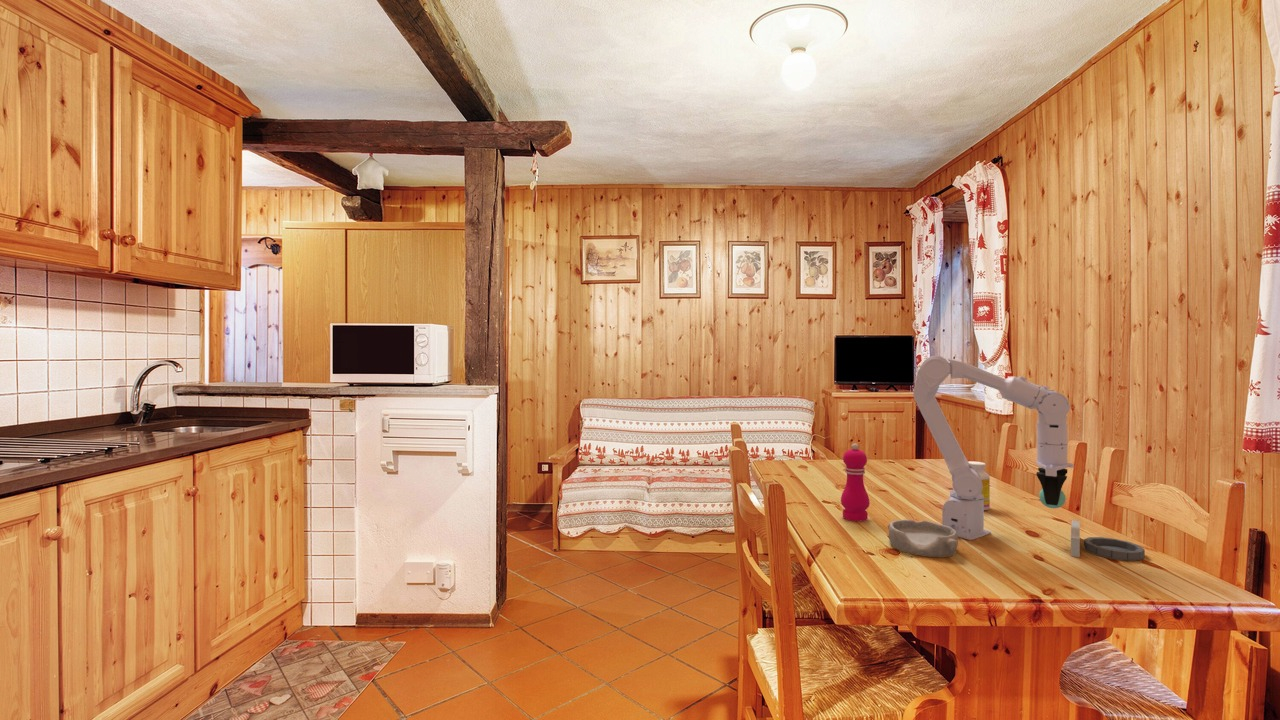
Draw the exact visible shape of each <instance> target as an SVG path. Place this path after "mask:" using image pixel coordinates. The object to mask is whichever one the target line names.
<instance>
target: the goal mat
mask: <svg viewBox="0 0 1280 720" xmlns="http://www.w3.org/2000/svg"><path fill="white" fill-rule="evenodd" d="M1083 547H1084V551H1086V552H1088V553H1090V554H1093V555H1095V556H1099V557H1102V558H1106V559H1110V560H1116V561H1125V562H1138V561H1139V562H1140V561H1142V560H1144V557H1146V555H1145V548H1144V547H1142V546H1141V545H1139V544H1137V543H1134V542H1131V541H1127V540H1123V539H1119V538H1114V537H1113V538H1112V537H1102V536H1096V537H1095V536H1093V537H1092V536H1091V537H1090V536H1088V537H1086V538H1084V539H1083Z"/></svg>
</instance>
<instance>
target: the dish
mask: <svg viewBox="0 0 1280 720" xmlns="http://www.w3.org/2000/svg"><path fill="white" fill-rule="evenodd" d="M887 528H888V540H889V543H890V544H891V546H892V547H893V548H895V549H897V550H899V551H901V552H904V553H907V554H911V555H915V556H920V557H928V558H947V557H950V556H951V557H952V556H953V555H954V554H956V552H957V548H958V545H959V539H958V538H959V537H957V532H956V530H954V529H953V528H951V527H949V526H945V525H942V523H941V524H940V523H938V522H933V521H928V520H921V521H915V520H914V519H898V520H892V521H890V522H889V523H888V525H887Z"/></svg>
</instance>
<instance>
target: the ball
mask: <svg viewBox="0 0 1280 720" xmlns="http://www.w3.org/2000/svg"><path fill="white" fill-rule="evenodd" d="M1038 498H1039V501H1040V503H1042V504H1043V506H1044V507H1047V508H1049V509H1058V508H1061V507H1063V506H1064V505H1065V503H1066V499H1067V497H1066V494H1065V493H1064V492H1063V490H1062V489H1061V492H1060V497H1059V502H1058V505H1049V504H1046V502H1045V498H1044V493H1043V488H1042V489H1040V491H1039V494H1038Z"/></svg>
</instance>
